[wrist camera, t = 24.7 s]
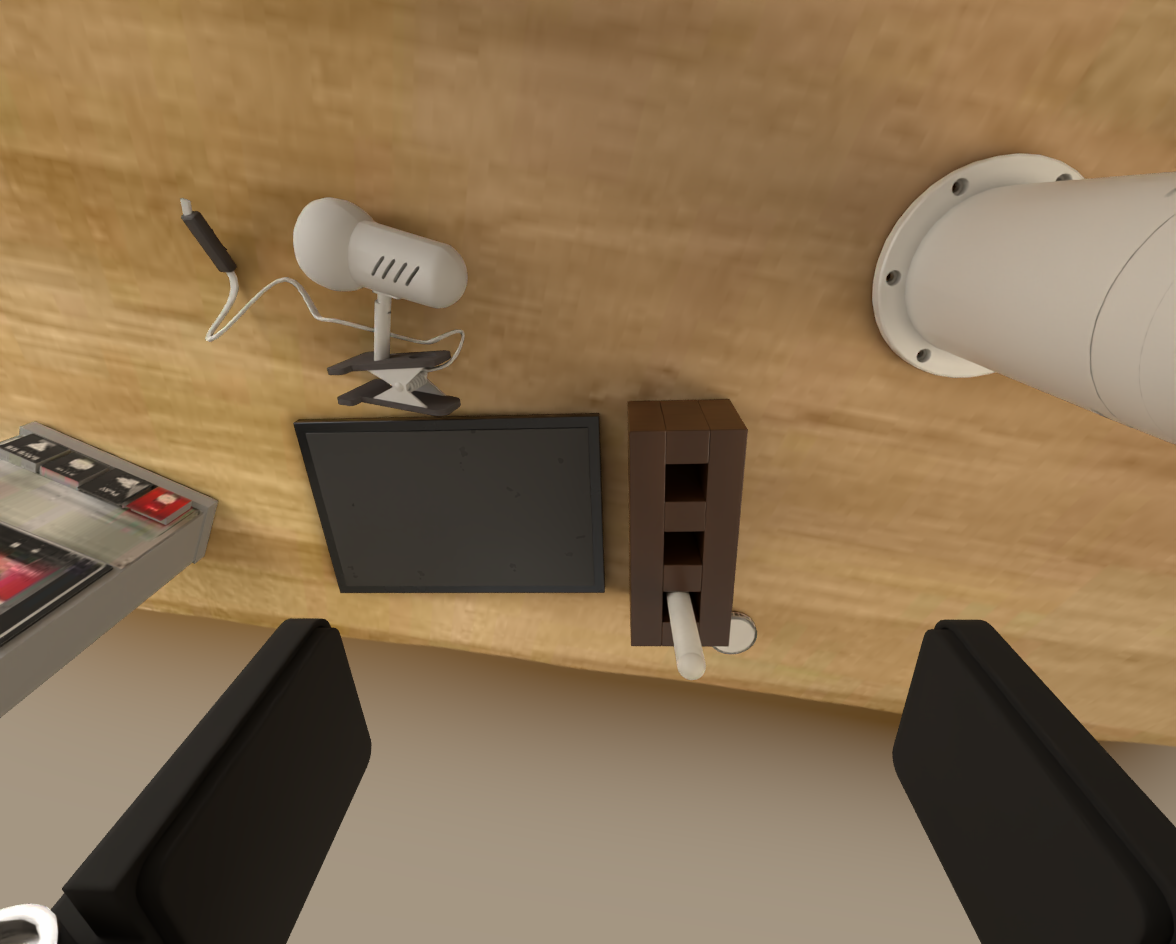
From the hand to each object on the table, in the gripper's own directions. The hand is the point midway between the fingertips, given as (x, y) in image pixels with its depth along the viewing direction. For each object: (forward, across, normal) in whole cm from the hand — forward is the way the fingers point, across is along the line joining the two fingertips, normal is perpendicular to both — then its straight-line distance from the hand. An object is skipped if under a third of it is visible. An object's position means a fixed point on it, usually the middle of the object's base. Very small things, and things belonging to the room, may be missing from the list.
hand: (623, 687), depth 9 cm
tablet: (+30, +12, +13) cm, 35 cm away
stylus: (+30, -4, +18) cm, 36 cm away
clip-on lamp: (+31, +18, -3) cm, 36 cm away
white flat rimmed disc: (+30, -9, +25) cm, 40 cm away
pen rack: (+30, -4, +13) cm, 33 cm away
